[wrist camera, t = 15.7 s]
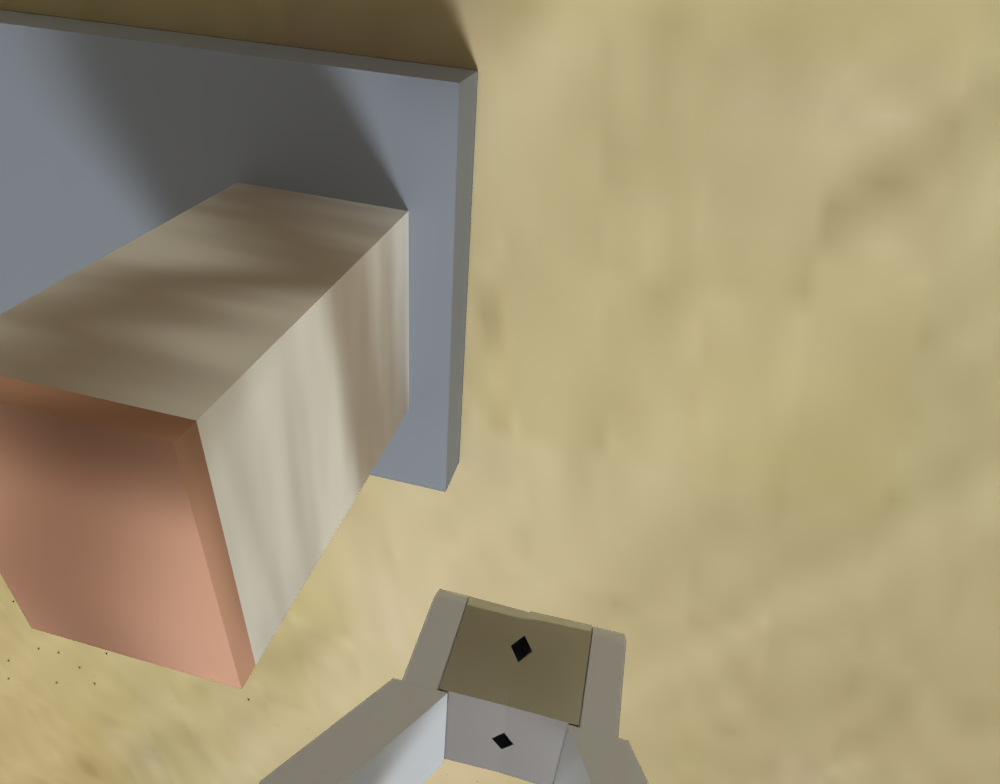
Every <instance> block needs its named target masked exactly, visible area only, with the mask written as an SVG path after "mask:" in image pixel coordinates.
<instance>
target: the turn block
mask: <svg viewBox="0 0 1000 784" xmlns="http://www.w3.org/2000/svg"><path fill="white" fill-rule="evenodd" d="M408 410H409V211H405V210H399V209H393V208H387V207H382V206H376V205H370V204H364V203H358V202H352V201H346V200H340V199H334V198H329V197H323V196H317V195H311V194H305V193H299V192H293V191H287V190H282V189H276V188H270V187H264V186H258V185H252V184H246V183H240V182H237V183H235V184H233V185H232V186H230V187H228V188H226V189H224V190H223V191H221V192H219V193H217V194H215V195H214V196H212V197H210V198H208V199H206V200H205V201H203V202H201V203H199V204H197V205H196V206H194V207H192V208H190V209H188V210H187V211H185V212H183V213H181V214H179V215H178V216H176V217H174V218H172V219H171V220H169V221H167V222H165V223H163V224H162V225H160V226H158V227H156V228H154V229H153V230H151V231H149V232H147V233H145V234H144V235H142V236H140V237H138V238H136V239H135V240H133V241H131V242H129V243H127V244H126V245H124V246H122V247H120V248H118V249H117V250H115V251H113V252H111V253H110V254H108V255H106V256H104V257H102V258H101V259H99V260H97V261H95V262H93V263H92V264H90V265H88V266H86V267H84V268H83V269H81V270H79V271H77V272H75V273H74V274H72V275H70V276H68V277H66V278H65V279H63V280H61V281H59V282H57V283H56V284H54V285H52V286H50V287H48V288H47V289H45V290H43V291H41V292H40V293H38V294H36V295H34V296H32V297H31V298H29V299H27V300H25V301H23V302H22V303H20V304H18V305H16V306H14V307H13V308H11V309H9V310H7V311H5V312H4V313H2V314H0V573H1V575H2V577H3V578H4V580H5V582H6V584H7V586H8V587H9V589H10V591H11V593H12V594H13V596H14V598H15V600H16V602H17V603H18V605H19V607H20V609H21V611H22V612H23V614H24V616H25V618H26V619H27V621H28V623H29V625H30V627H31V628H33V629H37V630H40V631H43V632H47V633H50V634H54V635H57V636H61V637H64V638H67V639H71V640H74V641H78V642H81V643H84V644H88V645H91V646H95V647H98V648H102V649H105V650H108V651H112V652H115V653H119V654H122V655H126V656H129V657H132V658H136V659H139V660H143V661H146V662H149V663H153V664H156V665H160V666H163V667H167V668H170V669H173V670H177V671H180V672H184V673H187V674H191V675H194V676H197V677H201V678H204V679H208V680H211V681H214V682H218V683H221V684H225V685H228V686H232V687H235V688H238V689H242V688H243V686H244V684H245V683H246V681H247V679H248V678H249V676H250V674H251V673H252V671H253V669H254V668H255V666H256V664H257V663H258V661H259V659H260V657H261V656H262V654H263V652H264V651H265V649H266V647H267V646H268V644H269V642H270V641H271V639H272V637H273V636H274V634H275V632H276V631H277V629H278V627H279V626H280V624H281V622H282V621H283V619H284V617H285V616H286V614H287V612H288V611H289V609H290V607H291V606H292V604H293V602H294V601H295V599H296V597H297V596H298V594H299V592H300V591H301V589H302V587H303V586H304V584H305V582H306V581H307V579H308V577H309V575H310V574H311V572H312V570H313V569H314V567H315V565H316V564H317V562H318V560H319V559H320V557H321V555H322V554H323V552H324V550H325V549H326V547H327V545H328V544H329V542H330V540H331V539H332V537H333V535H334V534H335V532H336V530H337V529H338V527H339V525H340V524H341V522H342V520H343V519H344V517H345V515H346V514H347V512H348V510H349V509H350V507H351V505H352V504H353V502H354V500H355V498H356V497H357V495H358V493H359V492H360V490H361V488H362V487H363V485H364V483H365V482H366V480H367V478H368V477H369V475H370V473H371V472H372V470H373V468H374V467H375V465H376V463H377V462H378V460H379V458H380V457H381V455H382V453H383V452H384V450H385V448H386V447H387V445H388V443H389V442H390V440H391V438H392V437H393V435H394V433H395V432H396V430H397V428H398V427H399V425H400V423H401V421H402V420H403V418H404V416H405V415H406V413H407V411H408Z"/></svg>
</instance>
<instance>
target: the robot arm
mask: <svg viewBox="0 0 1000 784" xmlns="http://www.w3.org/2000/svg"><path fill="white" fill-rule="evenodd" d="M625 651H626V638H625V634H624V633H619V632H615V631H610V630H606V629H601V628H597V627H592V625H589V624H584V623H580V622H575V621H571V620H567V619H562V618H558V617H553V616H549V615H544V614H540V613H536V612H531V611H530V612H527V611H523V610H519V609H515V608H511V607H508V606H504V605H500V604H496V603H492V602H489V601H485V600H481V599H477V598H474V597H470V596H467V595H462V594H458V593H454V592H450V591H446V590H442V589H439V591H438V592H437V594H436V595H435V597H434V599H433V601H432V604H431V607H430V609H429V612H428V614H427V617H426V619H425V622H424V625H423V627H422V630H421V632H420V635H419V638H418V640H417V643H416V645H415V648H414V651H413V653H412V656H411V658H410V661H409V664H408V666H407V669H406V671H405V674H404V677H403V679H402V680H399V679H394V678H393V679H391V680H390V681H389V682H388V683H386V684H385V685H384V686H382V687H381V688H380V689H378V690H377V691H376V692H375V693H373V694H372V695H371V696H369V697H368V698H367V699H366V700H364V701H363V702H362V703H360V704H359V705H358V706H357V707H355V708H354V709H353V710H351V711H350V712H349V713H347V714H346V715H345V716H344V717H342V718H341V719H340V720H338V721H337V722H336V723H335V724H333V725H332V726H331V727H329V728H328V729H327V730H326V731H324V732H323V733H322V734H320V735H319V736H318V737H316V738H315V739H314V740H313V741H311V742H310V743H309V744H307V745H306V746H305V747H304V748H302V749H301V750H300V751H298V752H297V753H296V754H295V755H293V756H292V757H291V758H289V759H288V760H287V761H285V762H284V763H283V764H282V765H280V766H279V767H278V768H276V769H275V770H274V771H273V772H271V773H270V774H269V775H267V776H266V777H265V778H264V779H262V780H261V781H260V783H259V784H423V783H424V782H425V781H426V780H427V779H428V778H429V777H430V776H431V775H432V774H433V773H434V772H435V771H436V770H437V769H438V768H439V767H440V766H441V765H442V764H443V763H444V759H448V760H452V761H456V762H460V763H464V764H468V765H472V766H476V767H480V768H484V769H488V770H492V771H496V772H500V773H503V774H506V775H509V776H512V777H516V778H519V779H522V780H525V781H529V782H532V783H535V784H649V783H648V781H647V779H646V777H645V775H644V772H643V770H642V768H641V766H640V764H639V762H638V760H637V758H636V756H635V754H634V752H633V750H632V748H631V745H630V743H629V741H628V740H624V739H621V738H618V735H619V723H620V711H621V699H622V687H623V675H624V663H625Z"/></svg>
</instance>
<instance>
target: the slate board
mask: <svg viewBox="0 0 1000 784" xmlns="http://www.w3.org/2000/svg"><path fill="white" fill-rule="evenodd" d="M477 80H478V71H476V70H468V69H461V68H453V67H445V66H437V65H429V64H421V63H414V62H406V61H398V60H390V59H382V58H374V57H367V56H359V55H351V54H343V53H335V52H327V51H320V50H312V49H304V48H296V47H288V46H280V45H273V44H265V43H257V42H249V41H241V40H233V39H226V38H218V37H210V36H202V35H194V34H187V33H179V32H171V31H163V30H155V29H147V28H140V27H132V26H124V25H116V24H108V23H100V22H93V21H85V20H77V19H69V18H61V17H53V16H46V15H38V14H30V13H22V12H14V11H6V10H0V314H2V313H4V312H5V311H7V310H9V309H11V308H13V307H14V306H16V305H18V304H20V303H22V302H23V301H25V300H27V299H29V298H31V297H32V296H34V295H36V294H38V293H40V292H41V291H43V290H45V289H47V288H48V287H50V286H52V285H54V284H56V283H57V282H59V281H61V280H63V279H65V278H66V277H68V276H70V275H72V274H74V273H75V272H77V271H79V270H81V269H83V268H84V267H86V266H88V265H90V264H92V263H93V262H95V261H97V260H99V259H101V258H102V257H104V256H106V255H108V254H110V253H111V252H113V251H115V250H117V249H118V248H120V247H122V246H124V245H126V244H127V243H129V242H131V241H133V240H135V239H136V238H138V237H140V236H142V235H144V234H145V233H147V232H149V231H151V230H153V229H154V228H156V227H158V226H160V225H162V224H163V223H165V222H167V221H169V220H171V219H172V218H174V217H176V216H178V215H179V214H181V213H183V212H185V211H187V210H188V209H190V208H192V207H194V206H196V205H197V204H199V203H201V202H203V201H205V200H206V199H208V198H210V197H212V196H214V195H215V194H217V193H219V192H221V191H223V190H224V189H226V188H228V187H230V186H232V185H233V184H235V183H237V182H240V183H246V184H252V185H258V186H264V187H270V188H276V189H282V190H287V191H293V192H299V193H305V194H311V195H317V196H323V197H329V198H334V199H340V200H346V201H352V202H358V203H364V204H370V205H376V206H382V207H387V208H393V209H399V210H405V211H409V410H408V411H407V413H406V415H405V416H404V418H403V420H402V421H401V423H400V425H399V427H398V428H397V430H396V432H395V433H394V435H393V437H392V438H391V440H390V442H389V443H388V445H387V447H386V448H385V450H384V452H383V453H382V455H381V457H380V458H379V460H378V462H377V463H376V465H375V467H374V468H373V470H372V472H371V473H370V475H374V476H378V477H382V478H387V479H391V480H396V481H400V482H404V483H409V484H413V485H417V486H422V487H426V488H431V489H435V490H439V491H444V492H446V490H447V488H448V485H449V483H450V481H451V479H452V476H453V474H454V472H455V470H456V467H457V465H458V463H459V453H460V433H461V412H462V391H463V370H464V350H465V329H466V308H467V287H468V267H469V246H470V225H471V205H472V184H473V163H474V142H475V122H476V101H477Z"/></svg>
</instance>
